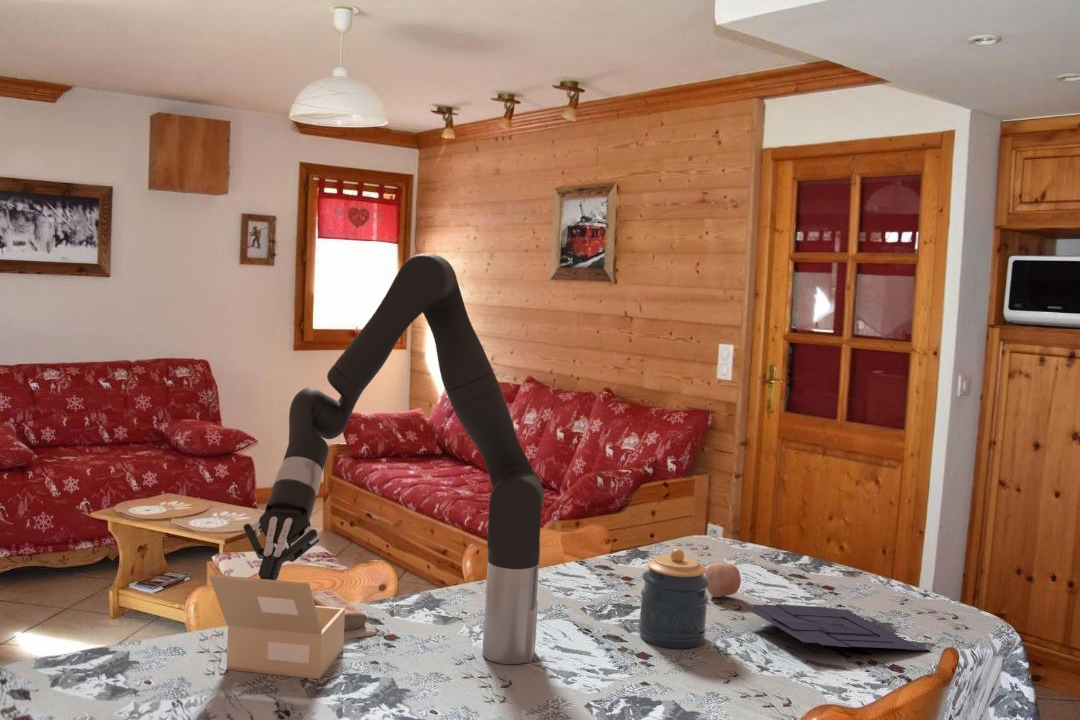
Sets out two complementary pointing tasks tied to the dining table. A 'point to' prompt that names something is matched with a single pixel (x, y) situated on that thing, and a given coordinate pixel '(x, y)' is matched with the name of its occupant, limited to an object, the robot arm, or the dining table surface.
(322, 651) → the mailer box
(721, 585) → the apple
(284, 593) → the lid
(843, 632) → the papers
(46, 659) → the dining table surface
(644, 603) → the canister
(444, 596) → the dining table surface
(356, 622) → the packaged product
